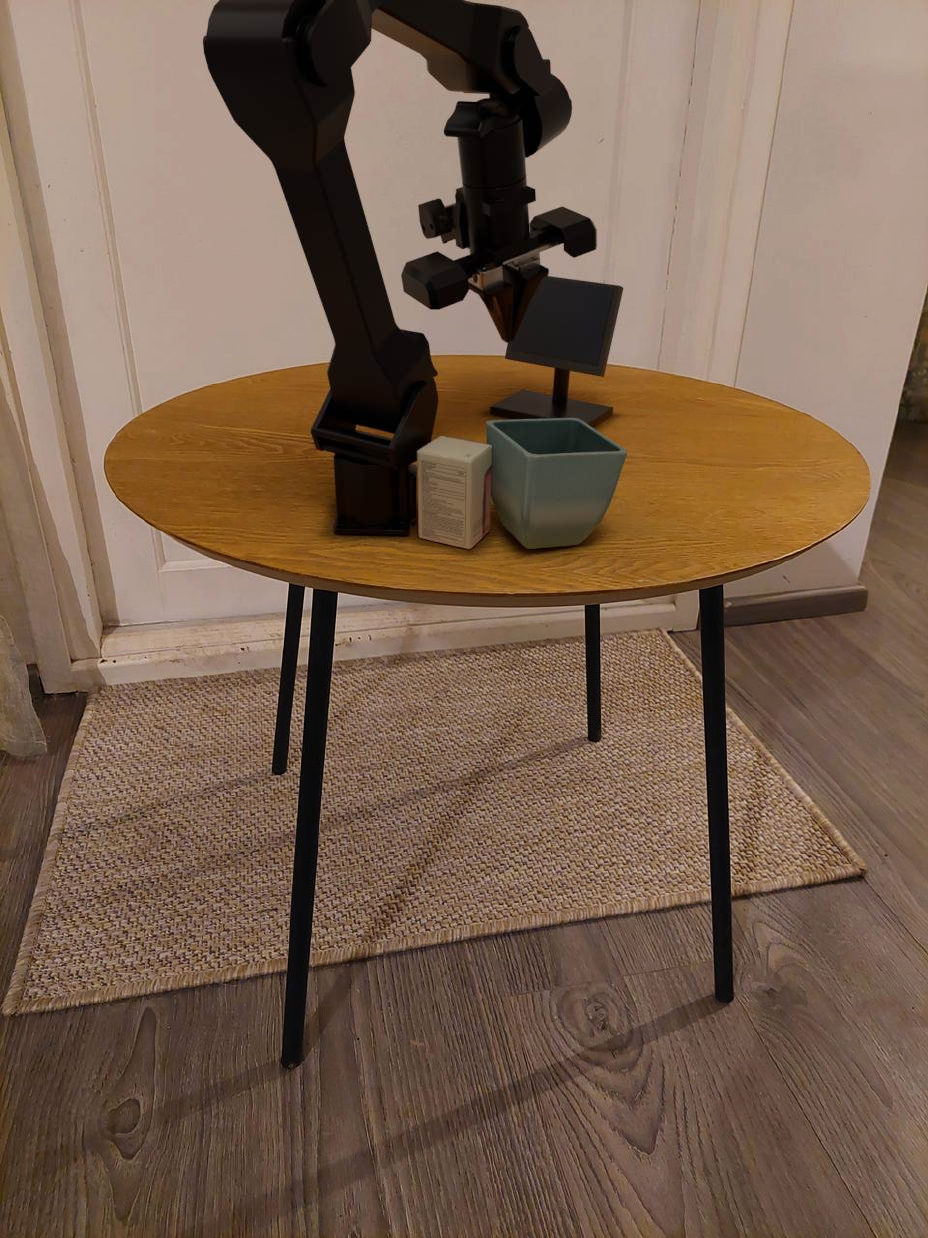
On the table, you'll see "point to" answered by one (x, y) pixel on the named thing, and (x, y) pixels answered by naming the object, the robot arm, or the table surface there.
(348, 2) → the robot arm
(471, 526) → the small box
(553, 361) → the monitor screen
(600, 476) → the flower pot
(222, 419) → the table surface
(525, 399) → the monitor stand
